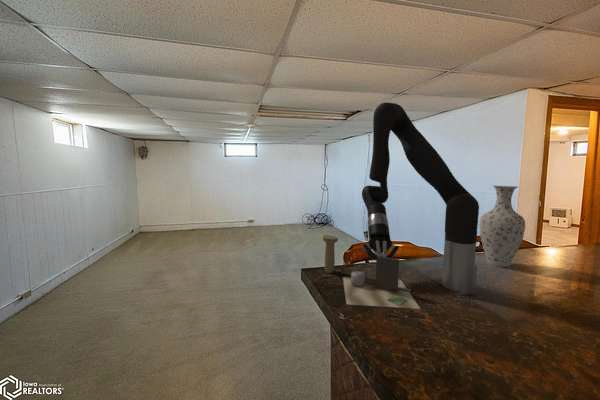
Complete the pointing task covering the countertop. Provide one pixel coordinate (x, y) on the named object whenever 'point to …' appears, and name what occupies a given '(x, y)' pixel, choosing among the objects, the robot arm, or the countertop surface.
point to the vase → (501, 229)
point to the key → (381, 275)
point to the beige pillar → (329, 253)
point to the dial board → (377, 296)
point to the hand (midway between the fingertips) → (382, 270)
